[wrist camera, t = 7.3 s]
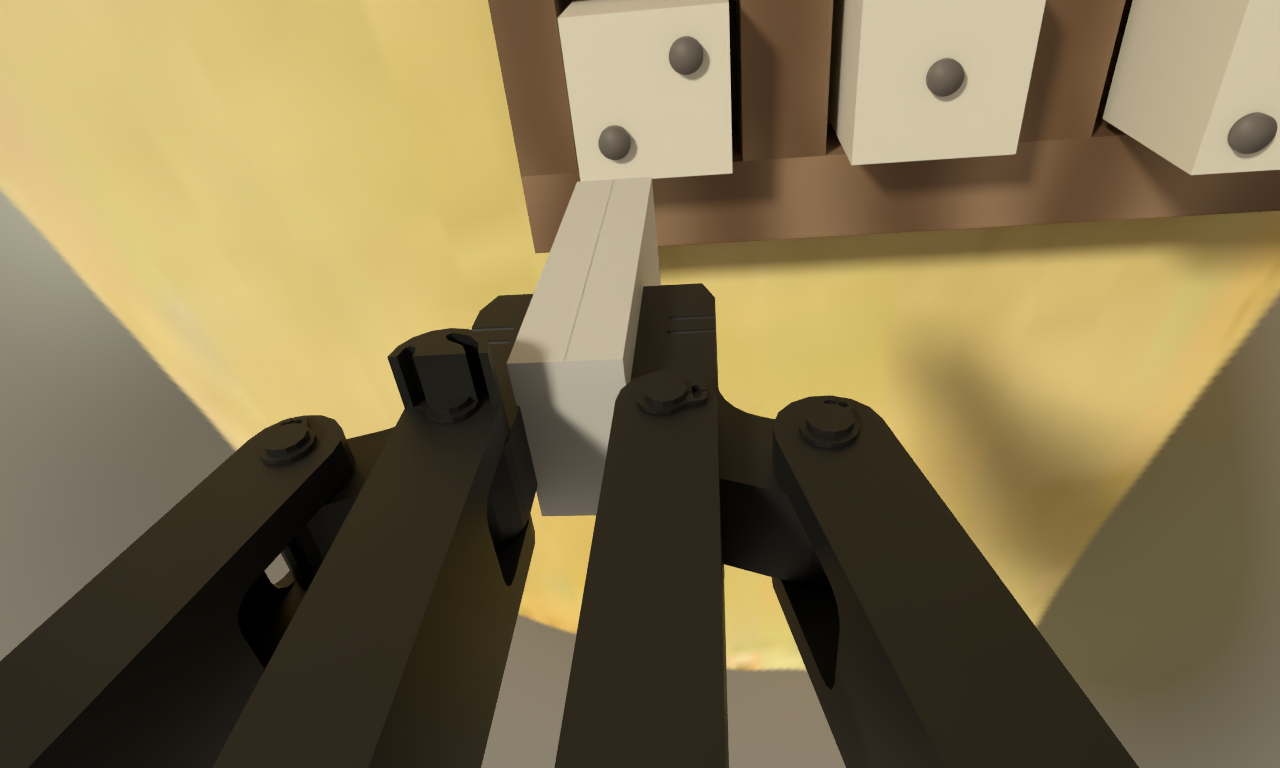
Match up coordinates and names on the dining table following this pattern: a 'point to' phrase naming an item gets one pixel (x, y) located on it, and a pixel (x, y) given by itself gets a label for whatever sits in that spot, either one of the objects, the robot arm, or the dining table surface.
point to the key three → (1201, 83)
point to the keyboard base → (870, 193)
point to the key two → (648, 87)
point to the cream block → (930, 77)
